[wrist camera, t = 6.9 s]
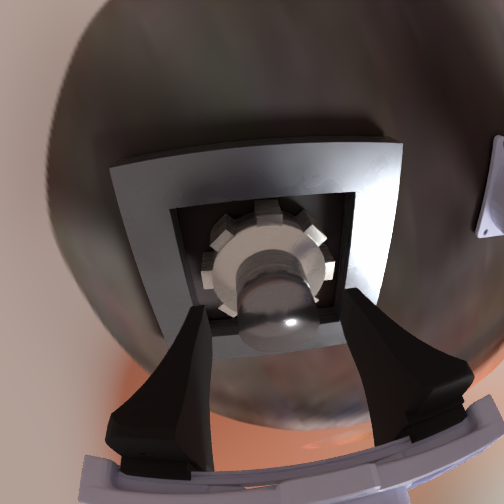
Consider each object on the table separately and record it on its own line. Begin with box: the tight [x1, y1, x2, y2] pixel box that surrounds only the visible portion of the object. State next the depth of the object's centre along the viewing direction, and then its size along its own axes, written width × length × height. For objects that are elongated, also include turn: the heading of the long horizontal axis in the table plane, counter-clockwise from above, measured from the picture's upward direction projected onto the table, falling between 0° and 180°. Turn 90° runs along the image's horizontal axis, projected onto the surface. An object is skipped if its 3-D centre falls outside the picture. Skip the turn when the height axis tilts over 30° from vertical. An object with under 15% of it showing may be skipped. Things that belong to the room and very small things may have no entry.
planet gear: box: [201, 200, 335, 353], centre depth 15 cm, size 7×7×6 cm
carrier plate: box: [109, 136, 403, 360], centre depth 17 cm, size 14×14×2 cm
